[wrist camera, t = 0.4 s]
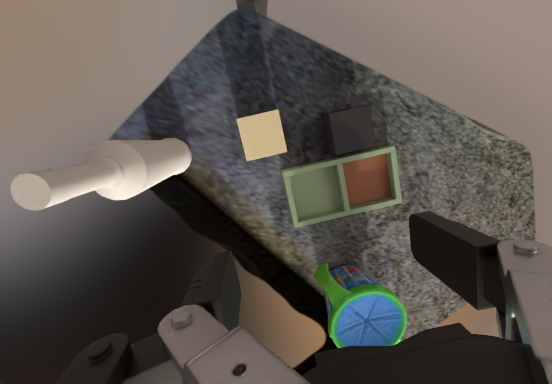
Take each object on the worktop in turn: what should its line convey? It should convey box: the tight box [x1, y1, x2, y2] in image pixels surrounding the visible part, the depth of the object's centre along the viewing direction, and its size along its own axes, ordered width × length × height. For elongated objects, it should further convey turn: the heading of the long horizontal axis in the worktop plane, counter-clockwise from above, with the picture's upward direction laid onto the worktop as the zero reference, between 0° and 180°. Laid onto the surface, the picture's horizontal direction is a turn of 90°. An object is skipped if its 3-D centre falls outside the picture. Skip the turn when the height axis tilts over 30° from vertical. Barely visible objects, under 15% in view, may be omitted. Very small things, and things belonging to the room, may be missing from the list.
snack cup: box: [314, 263, 407, 348], centre depth 40 cm, size 16×10×10 cm
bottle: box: [10, 138, 192, 210], centre depth 26 cm, size 5×5×25 cm
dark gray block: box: [322, 105, 375, 155], centre depth 37 cm, size 6×6×4 cm
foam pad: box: [236, 109, 287, 161], centre depth 37 cm, size 6×6×4 cm
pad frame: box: [281, 145, 402, 228], centre depth 40 cm, size 9×17×2 cm, turn 103°
